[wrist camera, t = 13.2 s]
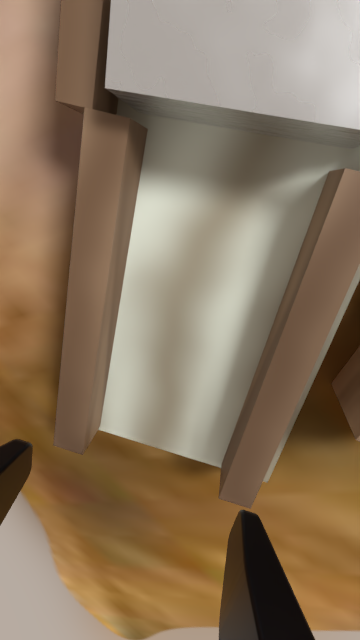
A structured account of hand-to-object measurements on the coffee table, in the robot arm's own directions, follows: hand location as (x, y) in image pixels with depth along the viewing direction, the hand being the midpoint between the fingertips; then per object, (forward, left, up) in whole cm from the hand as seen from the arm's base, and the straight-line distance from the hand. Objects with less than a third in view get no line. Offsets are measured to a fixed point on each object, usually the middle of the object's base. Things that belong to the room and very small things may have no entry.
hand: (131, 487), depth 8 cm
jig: (0, -3, -12) cm, 12 cm away
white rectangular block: (0, -11, -11) cm, 15 cm away
